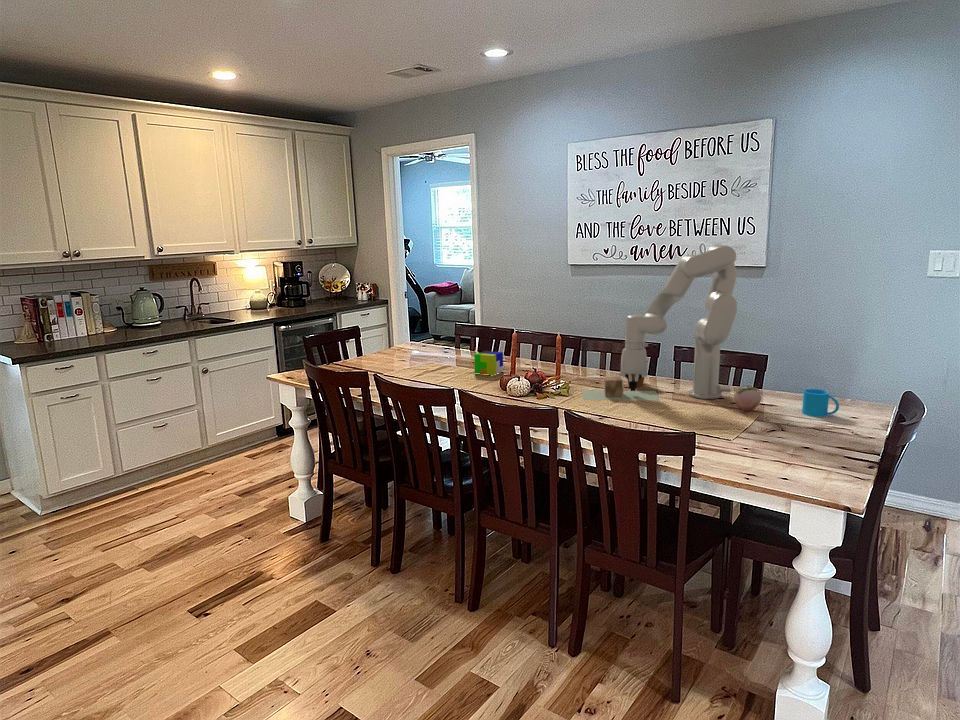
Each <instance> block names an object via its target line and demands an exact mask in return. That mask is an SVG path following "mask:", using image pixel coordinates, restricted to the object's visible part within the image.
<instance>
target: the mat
mask: <svg viewBox="0 0 960 720" xmlns="http://www.w3.org/2000/svg"><path fill="white" fill-rule="evenodd" d="M582 400H584V401H585V400H586V401H587V400H588V401H589V400H590V401H593V400H595V401H649V402H650V401H651V402H652V401H655V402H657V401H659V402H660V401H661V399H660V397H659V395H658V393H657V391H656V390H635V391H631V390H623V397H605V390H595V389H594V390H588V389H586V390H582Z"/></svg>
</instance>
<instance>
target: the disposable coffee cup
mask: <svg viewBox="0 0 960 720" xmlns="http://www.w3.org/2000/svg"><path fill="white" fill-rule="evenodd" d="M648 362H649V361H648V360H647V363H648ZM631 376H632V380H634V378H635V374H631ZM644 381H645V377H641V378H640V379H639V380H638V381H637V387H642V386H644ZM627 385H628V386H629V380H628V379H627Z"/></svg>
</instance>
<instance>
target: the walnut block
mask: <svg viewBox="0 0 960 720" xmlns="http://www.w3.org/2000/svg"><path fill="white" fill-rule="evenodd" d="M604 391H605V397H623V391H624V378H623V376H609V375H607V376H604Z"/></svg>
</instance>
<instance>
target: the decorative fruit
mask: <svg viewBox="0 0 960 720" xmlns="http://www.w3.org/2000/svg"><path fill="white" fill-rule="evenodd" d="M759 391H761V390H760V389H759V388H757V387H752V386H751V387H749V385H747V387H744V388H739V389H738V390H737V391H736V392H735V394H734V398H733V399H734V403H735V405H736V406H737V408H739V409H740V410H742V411H744V412H747V413H748V412H751V411H753V410H754V409H756V408H757V407H758V406H759V405H760V403H761V400H762V396H761V394H760V392H759Z"/></svg>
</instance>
